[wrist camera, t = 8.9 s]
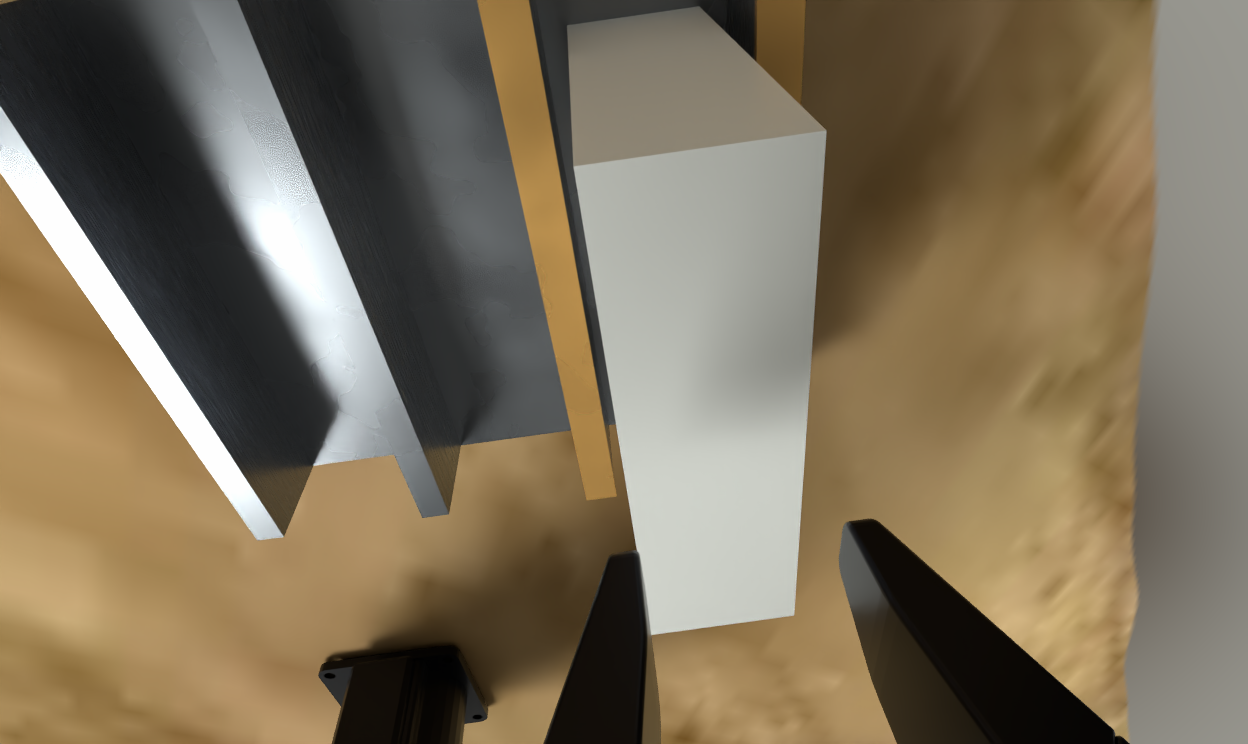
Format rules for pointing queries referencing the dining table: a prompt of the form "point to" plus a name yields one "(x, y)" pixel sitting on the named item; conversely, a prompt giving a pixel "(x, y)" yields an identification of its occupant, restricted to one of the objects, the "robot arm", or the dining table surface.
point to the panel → (701, 302)
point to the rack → (332, 219)
